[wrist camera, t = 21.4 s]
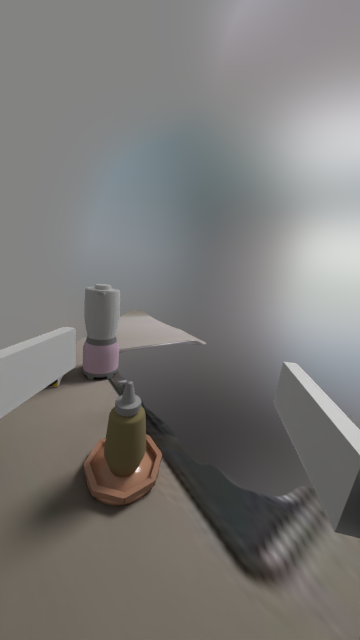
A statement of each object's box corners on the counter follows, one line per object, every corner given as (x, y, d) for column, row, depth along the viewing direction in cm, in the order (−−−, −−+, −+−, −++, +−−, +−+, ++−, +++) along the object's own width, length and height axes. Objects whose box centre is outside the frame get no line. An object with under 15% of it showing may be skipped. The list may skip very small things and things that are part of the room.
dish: (165, 447, 48) (166, 439, 48) (147, 515, 34) (148, 504, 34) (108, 434, 50) (108, 426, 49) (69, 494, 36) (69, 484, 36)
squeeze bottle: (93, 475, 39) (96, 389, 35) (117, 442, 47) (121, 368, 42) (133, 490, 37) (140, 401, 33) (151, 453, 45) (158, 377, 41)
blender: (118, 379, 73) (123, 288, 66) (80, 381, 69) (80, 285, 62) (117, 360, 88) (120, 283, 80) (85, 361, 84) (86, 280, 76)
